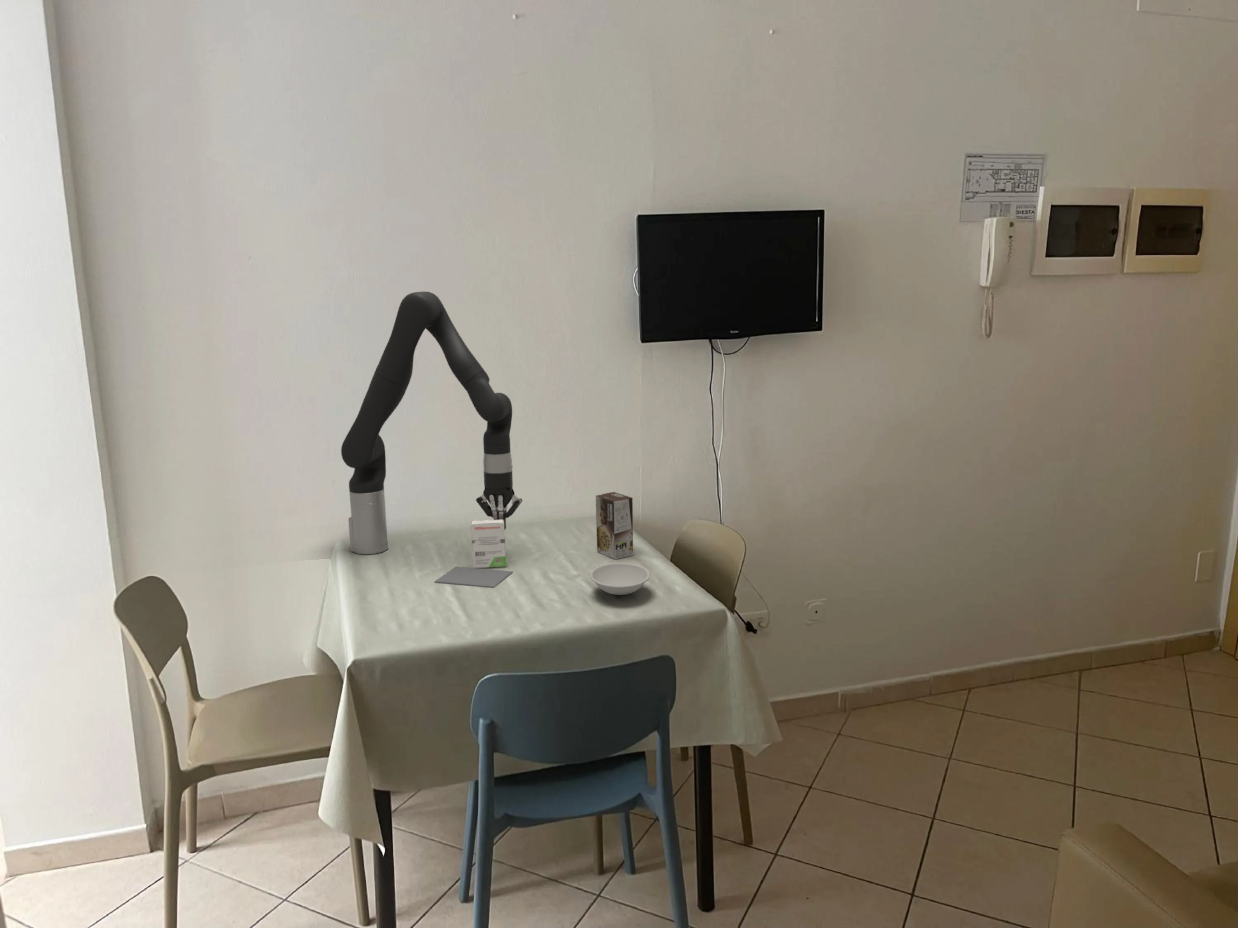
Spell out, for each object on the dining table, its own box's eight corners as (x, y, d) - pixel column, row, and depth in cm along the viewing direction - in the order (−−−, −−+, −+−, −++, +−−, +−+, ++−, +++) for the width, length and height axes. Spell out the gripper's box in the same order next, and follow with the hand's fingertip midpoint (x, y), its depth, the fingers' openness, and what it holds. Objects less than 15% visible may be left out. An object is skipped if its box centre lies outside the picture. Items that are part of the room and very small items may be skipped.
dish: (653, 606, 211) (653, 585, 210) (590, 608, 210) (590, 587, 209) (647, 580, 228) (646, 561, 227) (589, 582, 227) (588, 563, 226)
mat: (434, 582, 229) (434, 581, 229) (455, 567, 240) (455, 566, 240) (493, 587, 224) (493, 586, 224) (512, 572, 236) (512, 571, 236)
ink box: (505, 562, 244) (504, 518, 242) (506, 566, 239) (504, 522, 237) (473, 563, 243) (471, 520, 241) (472, 568, 238) (470, 523, 236)
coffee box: (634, 555, 248) (633, 497, 245) (614, 559, 245) (613, 501, 241) (615, 547, 256) (614, 491, 252) (595, 551, 252) (594, 494, 249)
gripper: (468, 470, 242) (471, 534, 245) (515, 473, 238) (518, 537, 242) (480, 465, 249) (483, 526, 252) (526, 467, 245) (528, 529, 249)
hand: (500, 531), depth 247 cm, fingers closed
